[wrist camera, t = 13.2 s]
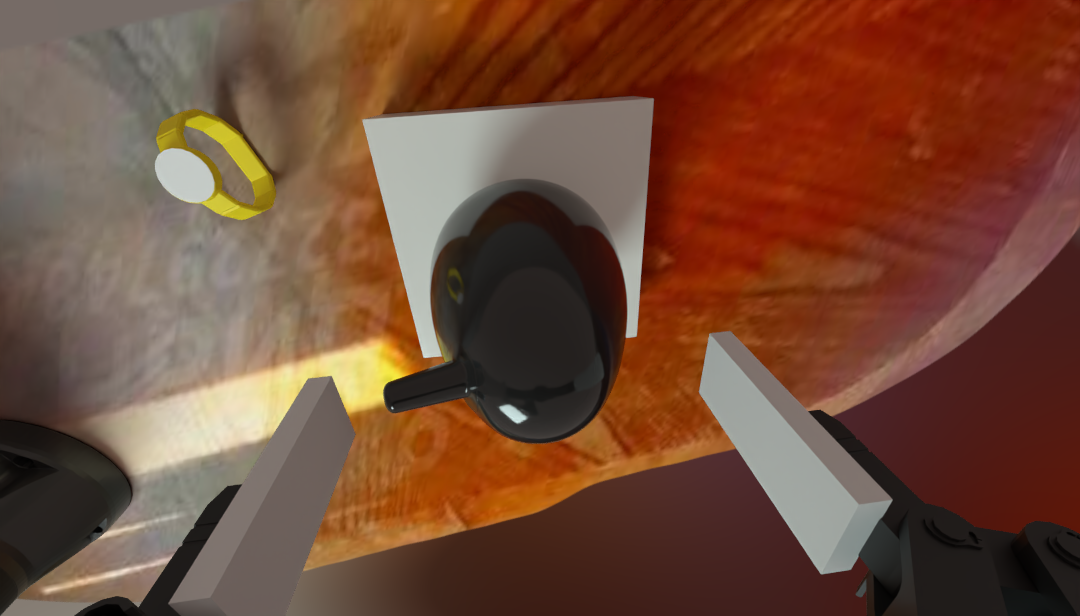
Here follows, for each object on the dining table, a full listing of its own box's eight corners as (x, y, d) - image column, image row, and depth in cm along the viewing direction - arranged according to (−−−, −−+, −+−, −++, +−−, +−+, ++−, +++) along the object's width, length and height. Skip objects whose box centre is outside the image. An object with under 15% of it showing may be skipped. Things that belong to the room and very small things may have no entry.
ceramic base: (431, 328, 33) (423, 357, 29) (381, 114, 25) (362, 119, 21) (622, 310, 34) (636, 336, 30) (633, 96, 26) (654, 98, 22)
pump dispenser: (431, 163, 23) (335, 274, 10) (608, 167, 24) (743, 273, 11) (445, 316, 28) (395, 526, 15) (591, 314, 29) (667, 510, 16)
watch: (198, 123, 25) (111, 125, 19) (236, 103, 24) (157, 100, 19) (264, 212, 27) (202, 236, 22) (298, 196, 27) (244, 216, 21)
